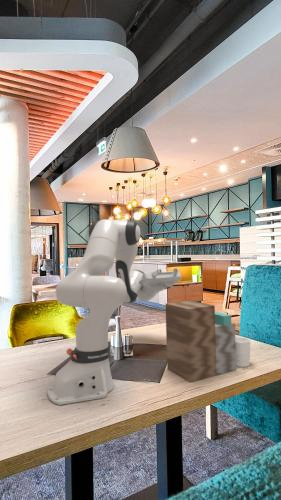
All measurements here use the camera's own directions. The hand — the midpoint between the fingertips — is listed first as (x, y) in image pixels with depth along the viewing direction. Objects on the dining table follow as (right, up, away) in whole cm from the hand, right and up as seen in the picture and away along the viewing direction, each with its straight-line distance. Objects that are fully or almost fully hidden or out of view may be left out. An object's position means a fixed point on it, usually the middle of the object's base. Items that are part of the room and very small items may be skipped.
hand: (168, 270), depth 151 cm
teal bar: (+14, -19, -17) cm, 30 cm away
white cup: (+28, -37, -20) cm, 50 cm away
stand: (+11, -37, -24) cm, 46 cm away
